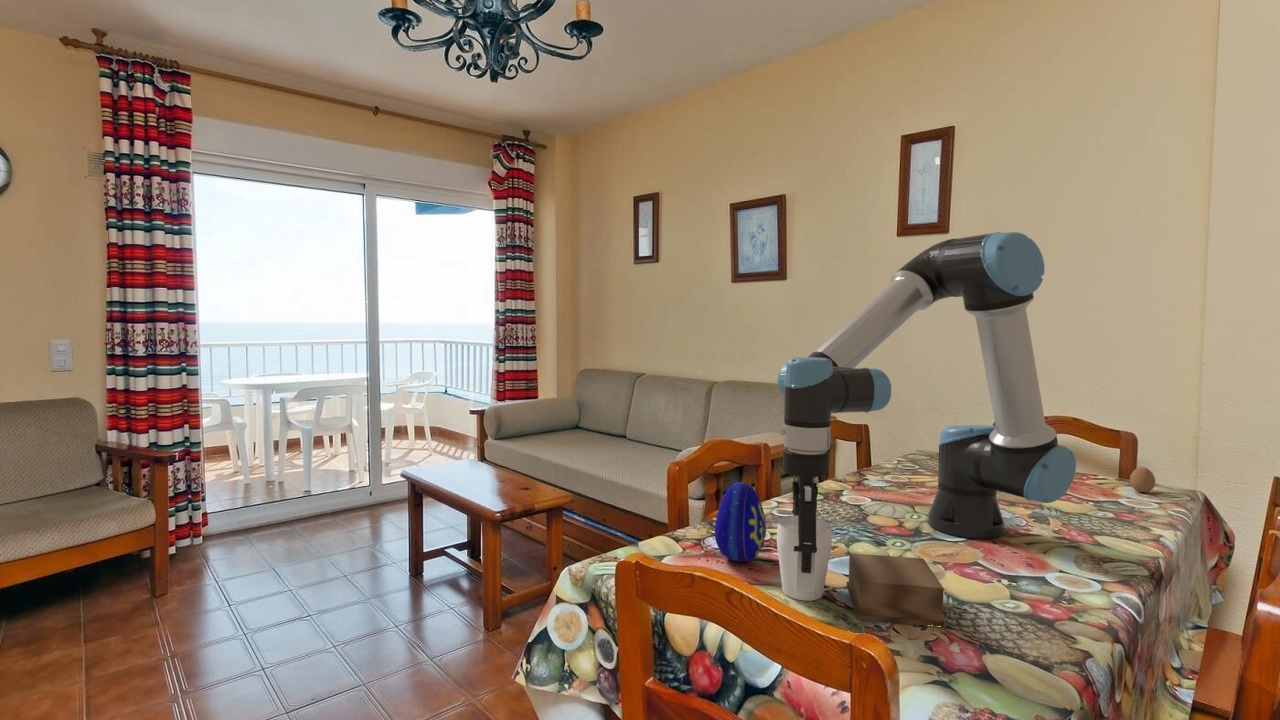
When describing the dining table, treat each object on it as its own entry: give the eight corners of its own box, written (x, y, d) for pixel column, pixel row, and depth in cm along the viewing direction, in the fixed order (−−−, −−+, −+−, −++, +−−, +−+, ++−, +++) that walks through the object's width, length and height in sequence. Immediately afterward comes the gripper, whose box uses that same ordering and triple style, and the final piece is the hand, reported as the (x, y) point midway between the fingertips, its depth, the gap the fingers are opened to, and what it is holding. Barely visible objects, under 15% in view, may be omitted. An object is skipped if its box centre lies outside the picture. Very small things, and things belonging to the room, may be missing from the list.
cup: (832, 607, 102) (834, 534, 101) (775, 601, 103) (777, 530, 103) (827, 584, 110) (829, 517, 110) (775, 579, 112) (776, 513, 111)
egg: (1159, 495, 169) (1161, 469, 168) (1139, 495, 169) (1140, 469, 168) (1143, 489, 174) (1145, 464, 174) (1124, 489, 174) (1125, 464, 174)
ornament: (750, 573, 115) (752, 492, 114) (705, 563, 119) (706, 485, 118) (772, 554, 124) (774, 479, 123) (729, 545, 129) (730, 473, 128)
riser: (923, 592, 107) (924, 558, 107) (944, 627, 95) (946, 589, 95) (846, 585, 110) (847, 552, 109) (857, 619, 97) (858, 581, 97)
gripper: (780, 435, 118) (777, 546, 120) (786, 465, 94) (781, 603, 95) (822, 437, 117) (818, 549, 118) (838, 467, 92) (833, 608, 94)
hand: (802, 574), depth 107 cm, fingers open, 13 cm apart
